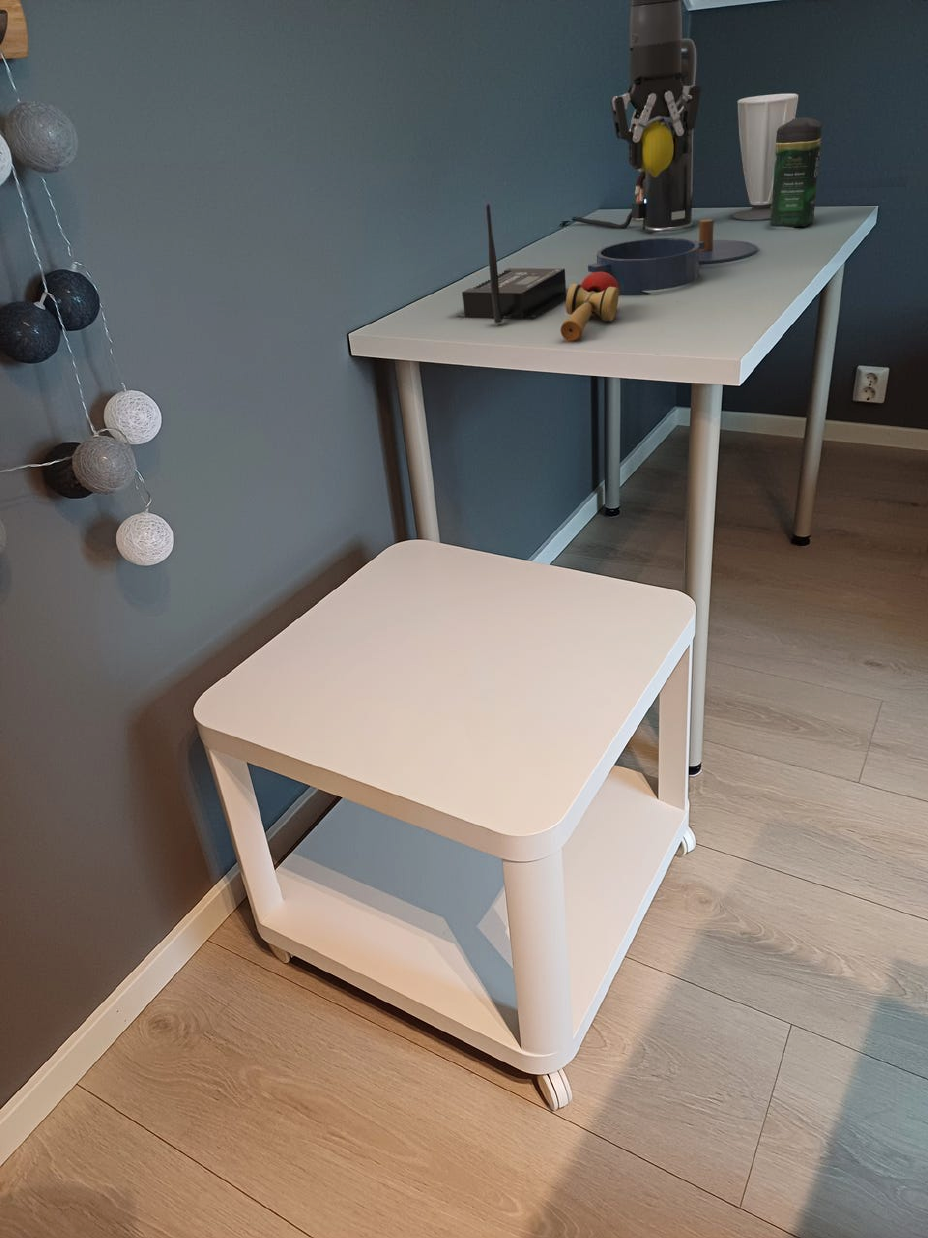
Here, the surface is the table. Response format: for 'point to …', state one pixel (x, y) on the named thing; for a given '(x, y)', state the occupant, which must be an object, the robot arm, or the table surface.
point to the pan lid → (721, 246)
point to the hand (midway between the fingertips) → (655, 165)
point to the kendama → (590, 302)
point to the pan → (650, 264)
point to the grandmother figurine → (640, 187)
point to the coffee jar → (795, 172)
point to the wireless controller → (514, 290)
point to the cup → (761, 147)
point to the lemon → (656, 148)
